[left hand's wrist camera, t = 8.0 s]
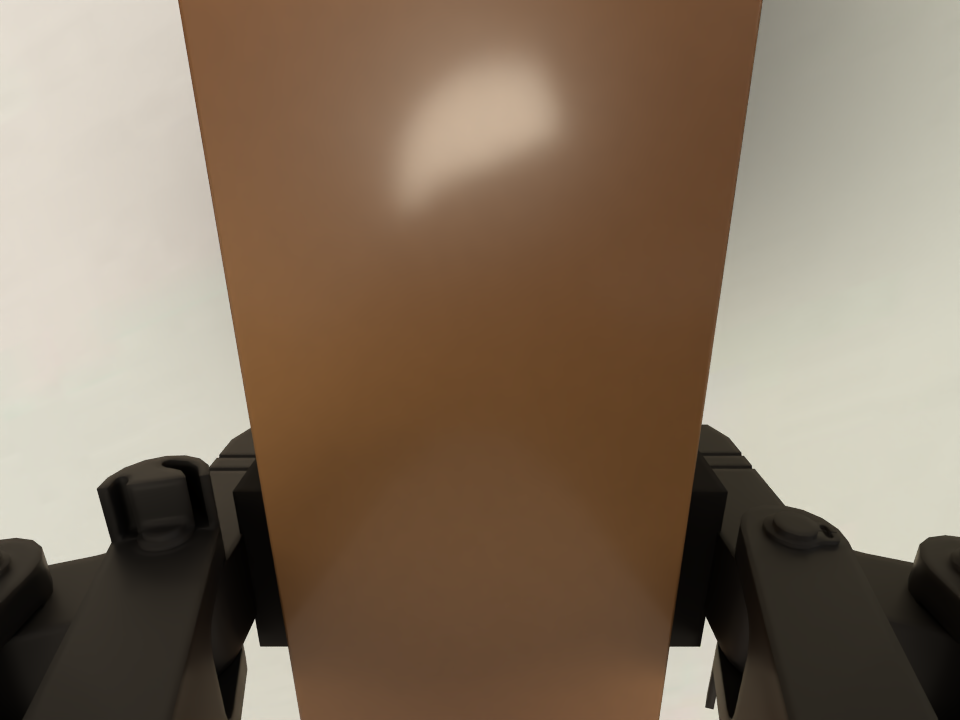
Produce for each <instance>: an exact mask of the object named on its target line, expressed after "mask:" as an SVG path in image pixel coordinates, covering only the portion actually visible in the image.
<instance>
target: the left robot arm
mask: <svg viewBox="0 0 960 720" xmlns="http://www.w3.org/2000/svg"><path fill="white" fill-rule="evenodd" d="M97 491H98V495H99V499H100V502H101V506H102V509H103V513H104V517H105V520H106V524H107V527H108V531H109V535H110V538H111V542H112V543H111V545H110V547H109V549H108V551H107V553H105V554H101V555H97V556H93V557H88V558H83V559H78V560H73V561H68V562H63V563H58V564H53V565H48V564H47V561H46V558H45V555H44V552H43V549H42V547H41V546H40V545H38V544H37V543H36V542H35V541H33V540H28V539H21V538H11V539H3V540H0V720H241V714H242V706H243V699H244V691H245V683H246V675H247V663H246V656H245V651H244V646H243V643H244V641H245V639H246V637H247V635H248V632H249V630H250V628H251V626H252V624H253V622H254V620H256V626H257V631H258V637H259V642H260V646H288V643H287V637H286V631H285V625H284V619H283V613H282V608H281V602H280V596H279V590H278V584H277V578H276V572H275V566H274V561H273V555H272V549H271V543H270V537H269V531H268V525H267V519H266V514H265V508H264V502H263V496H262V490H261V484H260V478H259V472H258V467H257V461H256V455H255V449H254V443H253V437H252V431H251V428H250V429H248V430H247V431H245V432H244V433H242V434H240V435H239V436H237V437H235V438H234V439H232V440H231V441H230V443H229V444H228V445H227V446H226V447H225V449H224V450H223V451H222V452H221V454H220V455H219V458H216V460H215V461H214V462H213V463H212V465H211V466H210V467H209V465H208V464H206V463H205V462H204V461H202V460H201V459H200V458H195V457H190V456H185V455H183V456H164V457H159V458H154V459H149V460H145V461H142V462H139V463H136V464H134V465H131V466H128V467H125V468H123V469H122V470H120V471H118V472H117V473H115V474H113V475H111V476H110V477H108V478H107V479H106V480H105V481H104V482H103V483H102V484H101V485H100V486H99V487H98V488H97ZM705 617H706V618H707V620H708V622H709V624H710V626H711V629H712V631H713V633H714V635H715V637H716V639H717V646H716V651H715V656H714V661H713V667H712V672H711V677H710V682H709V687H708V692H707V699H706V706H705V708H710V709H714V704H715V699H716V697H717V705H718V713H719V720H960V537H955V536H947V535H944V536H936V537H929V538H927V539H926V540H925V541H923V542H922V543H921V544H920V545H919V548H918V551H917V554H916V557H915V560H914V563H911V562H906V561H901V560H896V559H891V558H886V557H881V556H876V555H871V554H866V553H862V552H858V551H854V550H852V548H851V546H850V544H849V542H848V540H847V539H846V538H845V537H844V536H843V534H842V533H841V532H840V531H839V529H837V528H836V527H834V526H833V525H831V524H830V523H828V522H827V521H826V520H824V519H823V518H820V517H818V516H816V515H813V514H811V513H809V512H806V511H804V510H801V509H797V508H792V507H788V506H785V505H784V504H783V503H782V501H781V500H780V499H779V498H778V497H777V495H776V494H775V493H774V492H773V491H772V489H771V488H770V487H769V486H768V484H767V483H766V482H765V481H764V480H763V478H762V477H761V476H760V475H759V474H758V472H757V471H756V470H755V469H752V465H751V464H750V463H749V461H748V460H747V459H746V458H745V457H744V456H742V455H741V452H740V451H739V449H738V448H737V447H736V446H735V445H734V443H733V442H732V441H731V440H730V438H729V437H727V436H725V435H724V434H722V433H720V432H719V431H717V430H715V429H714V428H712V427H710V426H709V425H701V431H700V438H699V445H698V452H697V459H696V466H695V473H694V480H693V487H692V494H691V501H690V508H689V515H688V522H687V529H686V535H685V542H684V549H683V556H682V563H681V570H680V577H679V584H678V591H677V598H676V605H675V612H674V619H673V626H672V633H671V640H670V647H700V645H701V639H702V633H703V628H704V622H705Z"/></svg>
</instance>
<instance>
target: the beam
mask: <svg viewBox="0 0 960 720" xmlns="http://www.w3.org/2000/svg"><path fill="white" fill-rule="evenodd" d="M762 1H763V0H178V2H179V8H180V14H181V20H182V26H183V32H184V38H185V43H186V49H187V55H188V61H189V67H190V73H191V79H192V85H193V90H194V96H195V102H196V108H197V114H198V120H199V126H200V132H201V137H202V143H203V149H204V155H205V161H206V167H207V173H208V179H209V184H210V190H211V196H212V202H213V208H214V214H215V220H216V226H217V231H218V237H219V243H220V249H221V255H222V261H223V267H224V273H225V278H226V284H227V290H228V296H229V302H230V308H231V314H232V320H233V325H234V331H235V337H236V343H237V349H238V355H239V361H240V367H241V373H242V378H243V384H244V390H245V396H246V402H247V408H248V414H249V420H250V425H251V431H252V437H253V443H254V449H255V455H256V461H257V467H258V472H259V478H260V484H261V490H262V496H263V502H264V508H265V514H266V519H267V525H268V531H269V537H270V543H271V549H272V555H273V561H274V566H275V572H276V578H277V584H278V590H279V596H280V602H281V608H282V613H283V619H284V625H285V631H286V637H287V643H288V649H289V655H290V660H291V666H292V672H293V678H294V684H295V690H296V696H297V702H298V707H299V713H300V719H301V720H659V716H660V709H661V702H662V695H663V688H664V681H665V674H666V667H667V660H668V654H669V647H670V640H671V633H672V626H673V619H674V612H675V605H676V598H677V591H678V584H679V577H680V570H681V563H682V556H683V549H684V542H685V535H686V529H687V522H688V515H689V508H690V501H691V494H692V487H693V480H694V473H695V466H696V459H697V452H698V445H699V438H700V431H701V424H702V417H703V411H704V404H705V397H706V390H707V383H708V376H709V369H710V362H711V355H712V348H713V341H714V334H715V327H716V320H717V313H718V306H719V299H720V293H721V286H722V279H723V272H724V265H725V258H726V251H727V244H728V237H729V230H730V223H731V216H732V209H733V202H734V195H735V188H736V181H737V174H738V168H739V161H740V154H741V147H742V140H743V133H744V126H745V119H746V112H747V105H748V98H749V91H750V84H751V77H752V70H753V63H754V56H755V50H756V43H757V36H758V29H759V22H760V15H761V8H762Z"/></svg>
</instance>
